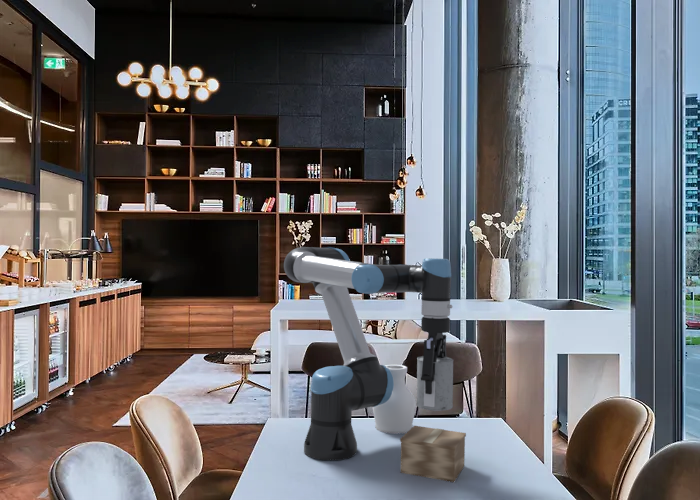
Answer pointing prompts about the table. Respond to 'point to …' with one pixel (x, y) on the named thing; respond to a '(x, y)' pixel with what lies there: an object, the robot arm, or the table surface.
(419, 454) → the box
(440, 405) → the grey cylinder
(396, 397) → the vase
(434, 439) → the lid
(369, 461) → the table surface
